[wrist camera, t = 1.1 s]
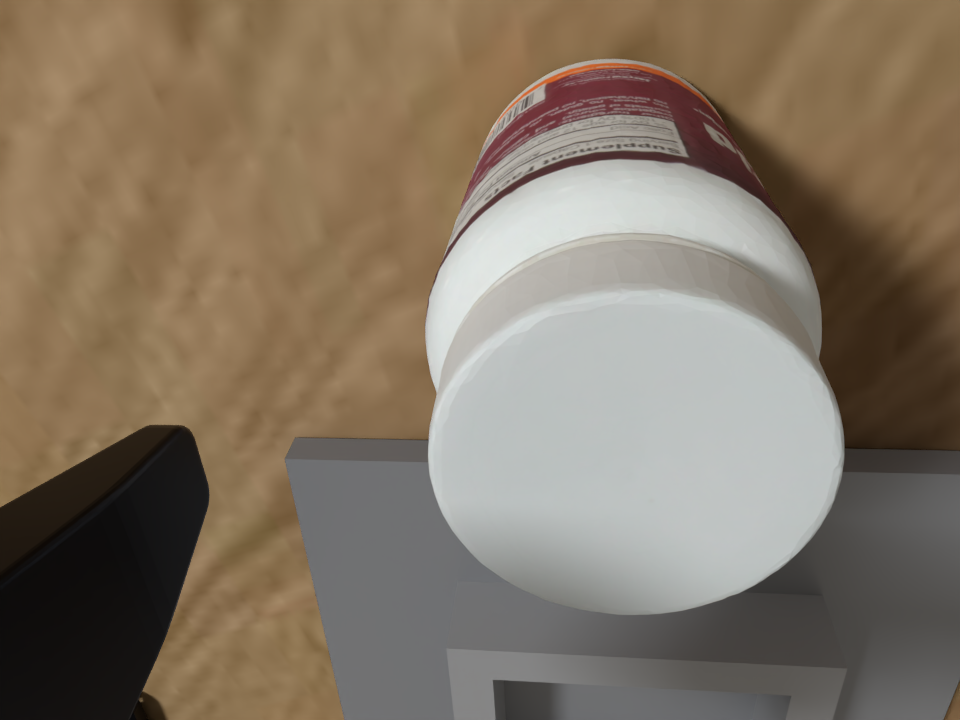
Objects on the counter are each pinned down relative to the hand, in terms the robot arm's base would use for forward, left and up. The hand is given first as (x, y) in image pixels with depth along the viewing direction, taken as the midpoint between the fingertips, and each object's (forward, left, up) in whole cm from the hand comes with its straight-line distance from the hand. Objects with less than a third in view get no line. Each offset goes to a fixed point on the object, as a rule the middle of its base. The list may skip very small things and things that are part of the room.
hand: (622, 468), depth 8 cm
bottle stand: (+1, -14, -8) cm, 16 cm away
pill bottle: (0, 0, -8) cm, 8 cm away
